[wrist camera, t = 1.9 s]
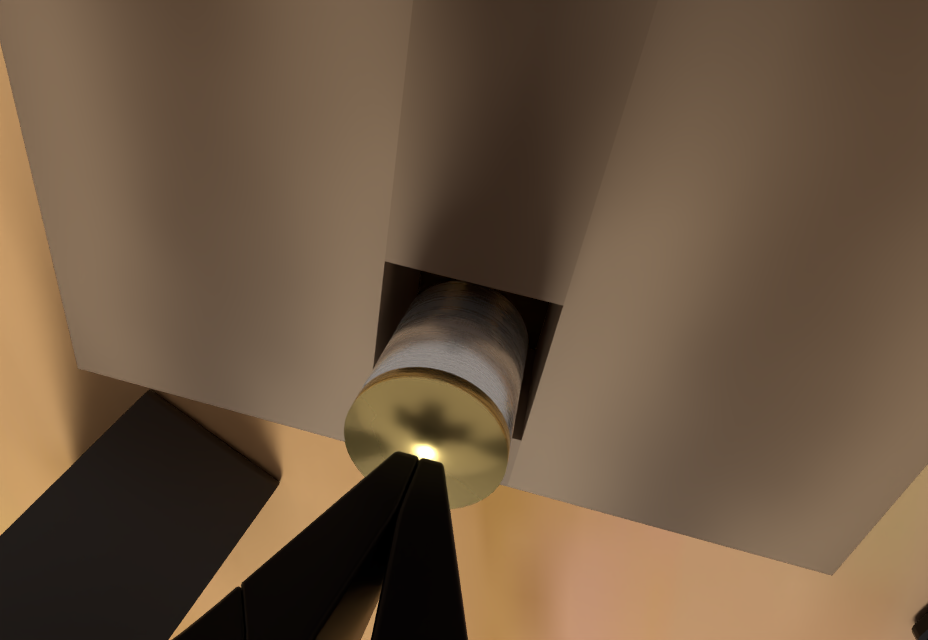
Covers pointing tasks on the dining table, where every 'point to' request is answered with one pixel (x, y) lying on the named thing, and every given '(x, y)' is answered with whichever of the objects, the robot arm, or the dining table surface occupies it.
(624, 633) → the dining table surface
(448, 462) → the brass capped peg
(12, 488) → the dining table surface
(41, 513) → the phone stand
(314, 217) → the walnut block
